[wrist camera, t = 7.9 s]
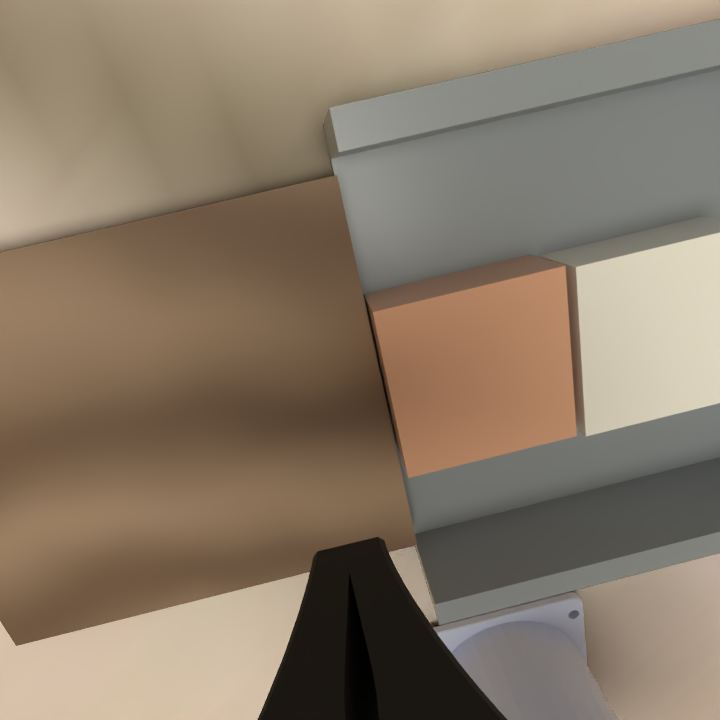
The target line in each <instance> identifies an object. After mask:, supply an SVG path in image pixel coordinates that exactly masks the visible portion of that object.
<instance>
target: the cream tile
mask: <svg viewBox="0 0 720 720" xmlns="http://www.w3.org/2000/svg"><path fill="white" fill-rule="evenodd" d="M539 258H542V259H546V260H549V261H552V262H555V263H558V264H561V265H564V266H565V267H566V282H567V297H568V311H569V326H570V341H571V356H572V371H573V386H574V401H575V416H576V428H577V429H578V430H579V431H580V432H581V433H583V434H584V435H585V436H590V435H594V434H598V433H602V432H606V431H610V430H614V429H618V428H622V427H626V426H630V425H634V424H638V423H642V422H646V421H650V420H654V419H658V418H662V417H666V416H670V415H674V414H678V413H682V412H686V411H690V410H694V409H698V408H702V407H706V406H710V405H714V404H718V403H720V218H713V217H698V218H694V219H690V220H686V221H682V222H677V223H673V224H669V225H665V226H661V227H657V228H652V229H648V230H644V231H640V232H636V233H631V234H627V235H623V236H619V237H615V238H611V239H606V240H602V241H598V242H594V243H590V244H585V245H581V246H577V247H573V248H569V249H565V250H560V251H556V252H552V253H548V254H544V255H539Z"/></svg>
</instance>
